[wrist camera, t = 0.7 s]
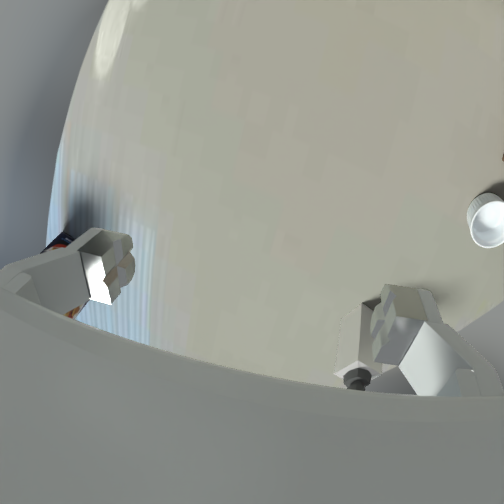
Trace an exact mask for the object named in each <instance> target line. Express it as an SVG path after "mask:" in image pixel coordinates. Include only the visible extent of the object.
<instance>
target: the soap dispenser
mask: <svg viewBox="0 0 504 504" xmlns="http://www.w3.org/2000/svg"><path fill="white" fill-rule="evenodd" d="M373 312H374V311H373V310H371V309H370V308H368V307H367V306H365V305H364V304H363V303H361V304H359V305H358V306H357V307H356V308H354V309H353V310H352V311H350V312H349V313H348V314H346V315H345V316H344V317H342V318H341V324H340V332H339V340H338V347H337V354H336V361H335V367H334V374H335V375H336V376H338V377H340V378H342V379H344V384H345V385H346V386H347V387H348V388H347V389H352V390H360V391H365V387H366V386H367V385H369V384H370V380H372V379H374V378H376V377H378V376H380V375H381V374H382V363H377V362H374V360H373V351H372V345H373V343H374V340H375V339H374V338H373V337H372V336H371V332H370V324H371V319H372V314H373Z"/></svg>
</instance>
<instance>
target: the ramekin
mask: <svg viewBox="0 0 504 504" xmlns="http://www.w3.org/2000/svg"><path fill="white" fill-rule="evenodd" d="M467 221H468V225H469V228H470V232H471V236H472V238H473V240H474V241H475V243H476V244H478V245H479V246H481V247H484V248H493V247H496V246H499V245H500V244H502V243H503V242H504V201H503V200H502V199H501V198H500V197H499V196H497V195H496V194H493V193H484V194H482V195H479V196H478V197H476V198H475V199H474V200H473V201H472V202H471V204H470V206H469V208H468V211H467Z"/></svg>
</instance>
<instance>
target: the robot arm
mask: <svg viewBox="0 0 504 504" xmlns="http://www.w3.org/2000/svg"><path fill="white" fill-rule="evenodd" d="M132 248H133V243H132V238H131V237H130V236H129V235H127V234H123V233H118V232H114V231H109V230H105V229H100V228H90V229H89V230H88V231H86V232H85V233H84V234H82V235H81V236H80V237H78V238H77V239H76V240H75V241H73V242H72V243H71V244H69V245H68V246H67V247H66V248H63V247H61V248H58V249H55V250H51V251H48V252H45V253H42V254H39V255H35V256H32V257H29V258H26V259H23V260H20V261H17V262H14V263H11V264H8V265H6V266H5V267H4V268H2V269H1V270H0V504H504V391H503V388H502V385H501V382H500V380H499V377H498V374H497V371H496V369H495V368H494V367H493V366H492V365H491V364H490V363H489V362H488V361H487V360H486V359H485V358H484V357H483V356H481V355H480V354H479V353H478V352H477V351H476V350H475V349H474V348H473V347H472V346H471V345H470V344H469V343H468V342H467V341H465V340H464V339H463V338H462V337H461V336H460V335H459V334H458V333H457V332H456V331H455V330H454V329H452V328H451V327H450V326H449V325H448V324H444V323H443V321H442V318H441V315H440V313H439V310H438V308H437V305H436V303H435V300H434V298H433V295H432V293H431V292H430V291H429V290H424V289H417V288H410V287H403V286H397V285H390V284H385V286H384V287H383V289H382V291H381V294H380V297H381V303H379V304H378V305H377V306H375V309H374V312H373V314H372V319H371V324H370V332H371V336H372V337H373V338H374V339H375V340H374V343H373V345H372V351H373V360H374V362H377V363H384V364H391V365H398V366H399V368H400V370H401V371H402V373H403V374H404V376H405V377H406V378H407V380H408V381H409V383H410V384H411V386H412V387H413V389H414V390H415V392H416V393H417V395H405V394H389V393H379V392H368V391H360V390H352V389H344V388H336V387H329V386H322V385H316V384H310V383H304V382H298V381H292V380H286V379H281V378H276V377H271V376H266V375H261V374H256V373H251V372H247V371H242V370H238V369H233V368H229V367H225V366H221V365H216V364H212V363H208V362H204V361H201V360H197V359H193V358H189V357H186V356H182V355H178V354H175V353H171V352H168V351H165V350H161V349H158V348H154V347H151V346H148V345H145V344H142V343H138V342H135V341H132V340H129V339H126V338H123V337H120V336H117V335H115V334H112V333H109V332H106V331H103V330H100V329H98V328H95V327H92V326H90V325H87V324H84V323H82V322H79V321H77V320H74V319H72V318H69V317H67V316H64V315H63V314H65V313H67V312H69V311H71V310H72V309H74V308H76V307H78V306H80V305H82V304H84V303H86V302H87V301H89V300H91V299H93V300H97V301H100V302H104V303H107V304H112V303H113V301H114V300H115V299H116V298H117V297H118V295H119V294H120V293H121V289H120V288H121V287H123V286H126V285H128V284H129V282H130V281H131V280H132V277H133V275H134V272H135V259H134V257H133V256H132V254H131V253H130V251H131V250H132Z"/></svg>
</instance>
